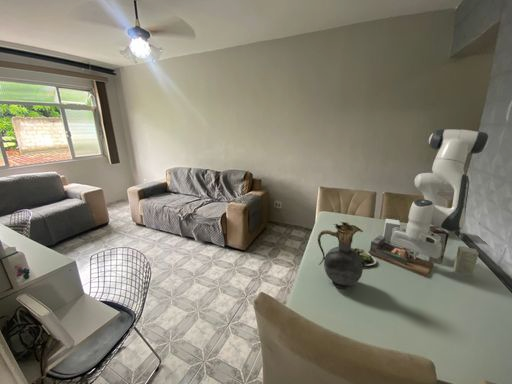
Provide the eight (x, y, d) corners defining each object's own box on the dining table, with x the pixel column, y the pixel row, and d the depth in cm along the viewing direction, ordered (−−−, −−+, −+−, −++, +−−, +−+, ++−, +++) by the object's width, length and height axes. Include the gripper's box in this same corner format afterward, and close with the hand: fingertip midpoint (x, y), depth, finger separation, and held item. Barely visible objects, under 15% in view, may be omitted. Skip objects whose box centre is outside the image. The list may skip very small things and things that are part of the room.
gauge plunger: (394, 252, 116) (396, 243, 114) (406, 256, 112) (408, 247, 110) (389, 257, 111) (390, 248, 110) (401, 262, 107) (403, 253, 106)
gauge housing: (377, 245, 126) (379, 234, 124) (433, 266, 106) (436, 252, 104) (367, 254, 118) (369, 241, 116) (425, 277, 98) (429, 263, 96)
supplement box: (397, 244, 127) (400, 224, 123) (382, 241, 130) (385, 222, 127) (396, 239, 133) (399, 220, 129) (382, 236, 136) (385, 218, 133)
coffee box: (442, 263, 109) (449, 234, 104) (428, 261, 110) (434, 233, 105) (432, 253, 117) (438, 226, 113) (419, 252, 118) (424, 225, 114)
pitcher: (360, 296, 88) (369, 230, 80) (313, 284, 96) (316, 222, 88) (360, 280, 98) (368, 219, 90) (317, 270, 106) (320, 213, 97)
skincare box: (470, 272, 101) (477, 249, 98) (472, 277, 98) (479, 253, 94) (452, 267, 105) (458, 245, 101) (454, 272, 101) (460, 249, 98)
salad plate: (331, 248, 125) (331, 241, 124) (361, 247, 125) (362, 240, 124) (345, 269, 106) (346, 261, 105) (380, 267, 107) (382, 259, 105)
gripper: (390, 227, 109) (386, 251, 113) (442, 242, 94) (435, 270, 98) (395, 224, 113) (391, 247, 117) (445, 238, 98) (439, 264, 102)
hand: (411, 258), depth 107 cm, fingers closed
